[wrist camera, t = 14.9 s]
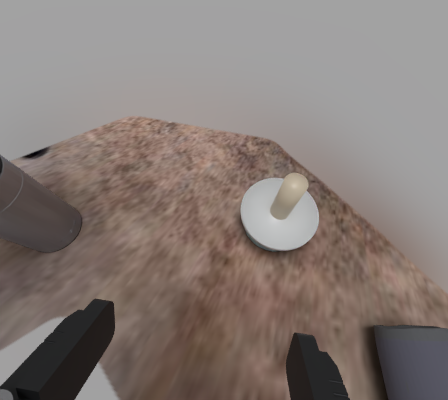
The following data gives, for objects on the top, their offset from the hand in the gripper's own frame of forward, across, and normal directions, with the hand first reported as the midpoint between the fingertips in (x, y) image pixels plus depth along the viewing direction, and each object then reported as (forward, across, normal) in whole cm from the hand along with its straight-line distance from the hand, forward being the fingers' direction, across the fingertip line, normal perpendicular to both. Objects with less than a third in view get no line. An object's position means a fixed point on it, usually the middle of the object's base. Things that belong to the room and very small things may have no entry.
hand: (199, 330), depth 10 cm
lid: (+29, -8, +4) cm, 30 cm away
